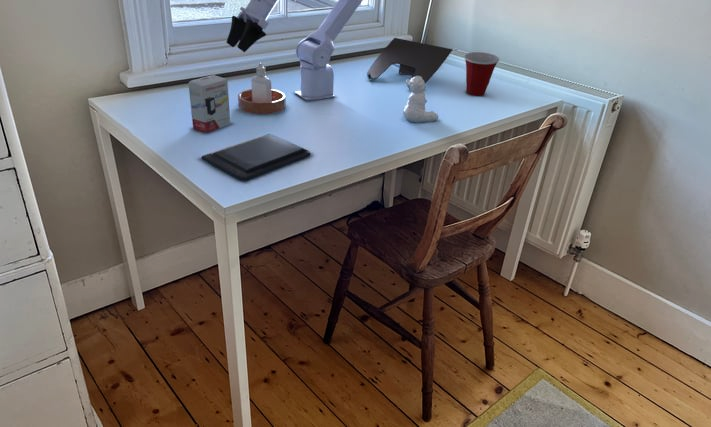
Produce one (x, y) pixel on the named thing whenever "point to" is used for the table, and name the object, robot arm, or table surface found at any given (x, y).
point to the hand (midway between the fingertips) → (235, 47)
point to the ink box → (209, 103)
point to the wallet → (256, 157)
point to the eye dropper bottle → (261, 86)
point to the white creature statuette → (417, 102)
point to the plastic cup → (479, 71)
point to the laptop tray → (410, 59)
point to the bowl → (264, 107)
